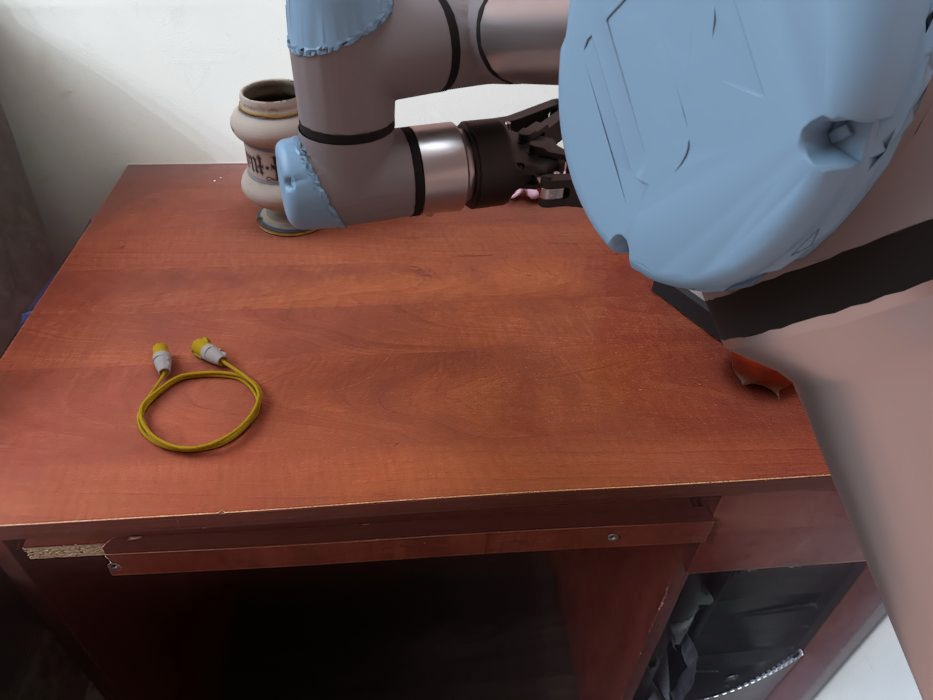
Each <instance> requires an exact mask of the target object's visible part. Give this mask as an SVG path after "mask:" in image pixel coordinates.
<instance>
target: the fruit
mask: <svg viewBox="0 0 933 700" xmlns="http://www.w3.org/2000/svg"><path fill="white" fill-rule="evenodd" d="M730 359H731V366H732V371H733V373H734V374H735V375H736V376H737V378H738V379H739V381H740V383H741V386H742V387H744V386H747V385H759V386H763V387H765V388H767V389H769V390H770V391H772V392H773V393H775V394H776V396H777V398H778V401H780V391H781V390H783V389H787V388H788V387H789V386H790V385H792V384H793V382H791V381H790V380H789V379H787V378H786V377H785V376H783V375H782V374H781V373H779V372H778V371H776V370H774V369H771V368H769V367H767V366H764V365H762V364H760V363H757V362H755V361H753V360H750V359H748V358H746V357H743V356H741V355H739V354H737V353H734V352H732V351H730Z"/></svg>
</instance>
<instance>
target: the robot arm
mask: <svg viewBox="0 0 933 700" xmlns="http://www.w3.org/2000/svg"><path fill="white" fill-rule="evenodd" d="M285 18H286V33H287V34H286V44H287V45H286V47H287V49H288V52H289V59H290V65H291V72H292V80H294V87H295V95H296V102H297V109H298V116H299V117H298V118H299V125H298V135H297V136H292V137H290V138H286V139H282V140H280V141H279V142H277V144H276V147H275V155H276V165H277V173H278V179H279V185H280V190H281V195H282V200H283V205H284V209H285V213H286V216H287V219H288V221H289V222H290V223H291V224H292V225H293V226H294V227H295V228H297V229H301V230H311V229H318V230H323V229H337V228H339V229H341V230H342V229H348V227H351V226H358V225H365V224H370V223H377V222H383V221H390V220H396V219H403V218H413V217H419V216H426V217H433V216H434V215H436V214H442V213H443V214H444V213H450V212H460V211H463V209H464V208H465V207H467V208H468V209H469V210H478V209H484V208H485V209H486V208H493V207H501V206H504V205H506V204H508V203H509V202H510V200H512V199H511V197H512V196H513V194H514V193H515V192H516V191H517V190H518V189H532V190H537V191H538V193H539V198H537V199H538V200H537V205H538V206H539V207H541V208H547V209H548V208H549V209H550V208H563V207H571V208H580V209H583V211H584V213H585V215H586V216H587V219H588V220H589V222H590V224H591V226H593V228H594V230H595V232H596V233H597V234H598V236H599V237H600V239H601V240H602V241H603V242H604V244H605V245H606V246H607V247H608V248H609V249H610V250H611V251H612V252H613V253H616V254H628V260H629V261H628V262H629V265H630V267H631V269H633V270H635V271H637V272H638V273H639V274H641V275H642V276H645V277H646V278H647V279H649V280H651V281H653V282H654V281H657V282H660V283H663V284H666V285H670V286H674V287H678V288H685V289H688V290H695V291H700V292H702V295H703V297H704V300H705V302H706V304H707V307H708V309H709V312H710V314H711V317H712V319H713V322H714V324H715V327H716V329H717V331H718V334H719V336H720V339H721V341H722V345H723V347H724V349H725V350H727V351H730V352H731V351H732V352H734V353H737V354H739V355H741V356H743V357H746V358H748V359H750V360H753V361H755V362H757V363H760V364H762V365H764V366H767V367H769V368H771V369H774V370H776V371H778V372H779V373H781V374H782V375H783V376H785V377H786V378H787V379H789V380H790V381H791V382H793V383H792V385H793V387H794V390H795V392H796V395H797V397H798V399H799V402H800V405H801V407H802V409H803V411H804V415H805V417H806V419H807V422H808V424H809V426H810V428H811V431H812V434H813V436H814V438H815V441H816V443H817V446H818V449H819V451H820V453H821V456H822V458H823V460H824V463H825V466H826V468H827V470H828V473H829V475H830V478H831V480H832V482H833V484H834V487H835V489H836V490H835V491H836V492H837V495H838V497H839V499H840V502H841V505H842V507H843V509H844V512H845V514H846V517H847V519H848V521H849V523H850V526H851V528H852V531H853V533H854V536H855V538H856V541H857V544H858V546H859V549H860V550H861V553H862V555H863V558H864V560H865V563H866V566H867V568H868V570H869V572H870V576H871V577H872V580H873V583H874V585H875V587H876V590H877V592H878V595H879V598H880V600H881V602H882V605H883V607H884V609H885V611H886V615H887V616H888V619H889V621H890V624H891V627H892V629H893V631H894V633H895V636H896V639H897V641H898V643H899V646H900V648H901V651H902V653H903V656H904V658H905V660H906V663H907V666H908V668H909V670H910V673H911V675H912V677H913V680H914V683H915V685H916V687H917V689H918V692H919V695H920V697H921V700H933V0H285ZM485 85H508V86H509V85H539V86H540V85H541V86H558V89H557V90H558V91H557V92H558V98H557V97H556V98H552V99H549V100H546V101H544V102H541V103H538V104H536V105H533V106H530V107H528V108H524V109H522V110H519V111H517V112H514V113H512V114H508V115H505V116H498V117H497V116H496V117H490V118H480V119H469V120H462V121H459V123H458V124H456V123H454V122H453V121H443V122H442V121H441V122H435V123H433V122H432V123H425V124H417V125H416V124H415V125H409V126H401V127H396V118H395V117H396V101H398V100H404V99H409V98H416V97H422V96H427V95H431V94H432V95H433V94H438V93H443V92H447V91H450V90H457V89H463V88H471V87H476V86H477V87H479V86H485ZM561 141H562V147H561V146H559V143H560V142H561ZM564 171H566V173H564Z"/></svg>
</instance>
